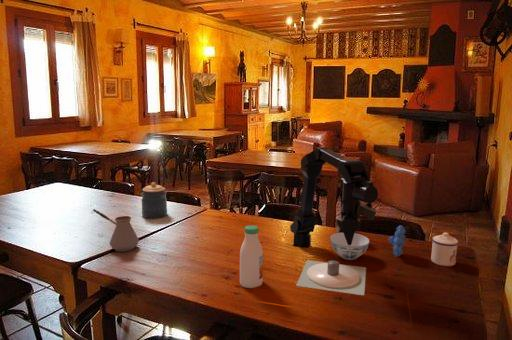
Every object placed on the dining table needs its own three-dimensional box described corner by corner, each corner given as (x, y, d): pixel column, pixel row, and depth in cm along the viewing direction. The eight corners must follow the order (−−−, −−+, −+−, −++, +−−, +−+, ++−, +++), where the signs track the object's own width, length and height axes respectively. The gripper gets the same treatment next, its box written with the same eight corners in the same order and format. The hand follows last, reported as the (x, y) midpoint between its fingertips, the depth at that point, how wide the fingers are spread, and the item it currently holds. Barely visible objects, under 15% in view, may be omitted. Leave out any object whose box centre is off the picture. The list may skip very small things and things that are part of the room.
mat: (295, 287, 136) (295, 285, 136) (306, 261, 157) (306, 260, 157) (364, 297, 130) (364, 295, 130) (366, 269, 151) (366, 267, 151)
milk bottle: (254, 291, 133) (255, 232, 129) (235, 285, 137) (235, 228, 133) (266, 282, 140) (267, 226, 136) (247, 276, 144) (248, 222, 140)
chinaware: (373, 255, 163) (374, 237, 162) (360, 268, 151) (362, 249, 149) (337, 247, 171) (338, 230, 170) (323, 259, 159) (324, 240, 157)
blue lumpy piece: (389, 248, 171) (391, 220, 169) (406, 251, 168) (409, 223, 166) (384, 257, 161) (386, 228, 159) (402, 261, 158) (404, 231, 156)
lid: (302, 283, 137) (303, 269, 136) (311, 262, 154) (311, 250, 153) (358, 291, 132) (358, 277, 131) (360, 269, 149) (361, 256, 148)
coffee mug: (355, 244, 175) (356, 222, 173) (334, 242, 177) (335, 220, 175) (354, 235, 186) (355, 214, 185) (335, 233, 188) (336, 212, 186)
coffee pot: (144, 245, 172) (143, 211, 169) (127, 255, 161) (125, 218, 158) (104, 238, 179) (102, 205, 176) (84, 247, 169) (82, 212, 166)
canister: (164, 219, 207) (163, 185, 204) (138, 218, 207) (137, 184, 204) (169, 211, 220) (168, 179, 217) (145, 211, 220) (144, 179, 217)
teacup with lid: (454, 268, 152) (458, 238, 150) (428, 263, 156) (431, 234, 154) (457, 257, 162) (460, 229, 160) (433, 253, 166) (435, 225, 164)
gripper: (377, 204, 129) (375, 251, 132) (373, 192, 147) (371, 233, 150) (341, 202, 131) (340, 249, 134) (341, 190, 149) (340, 231, 152)
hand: (349, 240), depth 142 cm, fingers open, 9 cm apart
